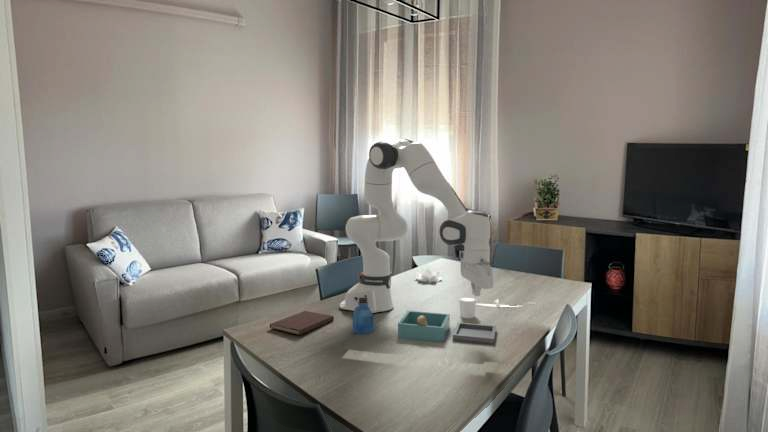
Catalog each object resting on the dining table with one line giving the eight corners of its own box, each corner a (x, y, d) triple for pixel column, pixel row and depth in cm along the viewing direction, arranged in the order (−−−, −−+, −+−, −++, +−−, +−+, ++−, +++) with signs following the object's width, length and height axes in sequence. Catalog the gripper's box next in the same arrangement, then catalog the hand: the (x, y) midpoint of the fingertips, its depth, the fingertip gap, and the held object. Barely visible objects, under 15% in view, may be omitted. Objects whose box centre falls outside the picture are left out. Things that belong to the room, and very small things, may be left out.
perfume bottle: (356, 334, 184) (356, 301, 183) (353, 328, 190) (352, 297, 188) (373, 332, 186) (373, 300, 184) (369, 327, 192) (369, 295, 190)
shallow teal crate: (397, 337, 181) (397, 323, 180) (407, 323, 196) (407, 310, 195) (442, 342, 176) (443, 327, 176) (449, 327, 192) (449, 314, 191)
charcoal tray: (452, 340, 178) (452, 334, 178) (457, 327, 192) (457, 322, 191) (493, 344, 174) (493, 338, 174) (495, 331, 188) (496, 325, 188)
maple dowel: (417, 329, 187) (415, 320, 179) (423, 322, 188) (420, 313, 180) (424, 334, 185) (422, 326, 178) (430, 327, 186) (428, 318, 179)
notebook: (269, 327, 192) (269, 322, 192) (304, 314, 209) (304, 309, 208) (299, 335, 184) (299, 329, 184) (333, 320, 201) (333, 315, 200)
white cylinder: (475, 319, 201) (476, 302, 201) (458, 318, 203) (458, 300, 202) (476, 314, 208) (476, 297, 207) (459, 313, 209) (459, 296, 209)
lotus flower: (446, 283, 259) (446, 266, 258) (438, 290, 245) (439, 272, 244) (419, 280, 264) (419, 264, 263) (410, 287, 250) (410, 270, 249)
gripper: (498, 261, 170) (497, 302, 172) (473, 251, 190) (472, 287, 191) (480, 262, 169) (480, 303, 170) (457, 252, 188) (457, 288, 190)
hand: (476, 295), depth 181 cm, fingers closed
